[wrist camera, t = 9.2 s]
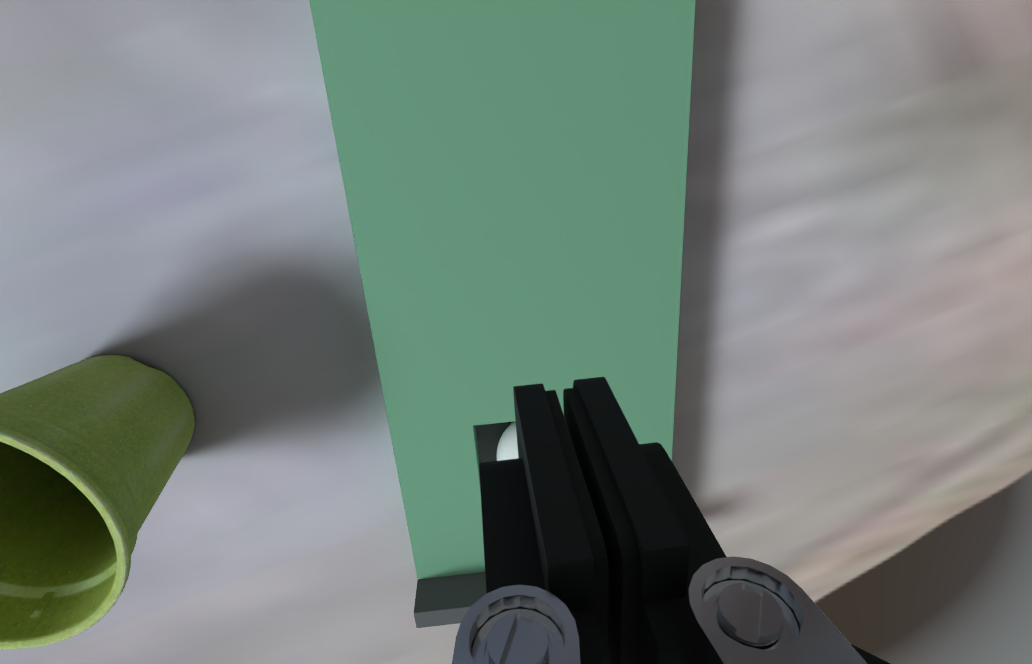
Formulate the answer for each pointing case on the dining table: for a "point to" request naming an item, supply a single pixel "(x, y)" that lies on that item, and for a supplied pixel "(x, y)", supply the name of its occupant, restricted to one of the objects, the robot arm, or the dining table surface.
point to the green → (508, 227)
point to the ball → (508, 444)
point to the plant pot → (80, 489)
